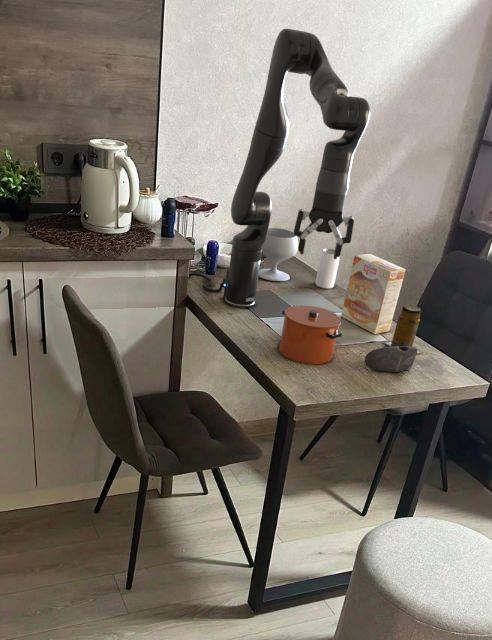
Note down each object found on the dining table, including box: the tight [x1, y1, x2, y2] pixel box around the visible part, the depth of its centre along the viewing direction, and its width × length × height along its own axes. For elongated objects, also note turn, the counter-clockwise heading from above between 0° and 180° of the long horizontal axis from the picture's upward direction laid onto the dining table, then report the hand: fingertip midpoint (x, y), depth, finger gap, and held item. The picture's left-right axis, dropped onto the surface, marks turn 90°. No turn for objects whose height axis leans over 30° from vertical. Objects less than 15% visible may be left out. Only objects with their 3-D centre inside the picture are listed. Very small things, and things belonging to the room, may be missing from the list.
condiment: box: [384, 304, 422, 354], centre depth 209 cm, size 7×8×12 cm
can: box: [314, 248, 341, 290], centre depth 248 cm, size 6×6×12 cm
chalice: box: [258, 227, 299, 282], centre depth 249 cm, size 14×14×15 cm
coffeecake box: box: [340, 253, 406, 335], centre depth 220 cm, size 15×7×20 cm, turn 36°
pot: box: [278, 304, 343, 365], centre depth 198 cm, size 19×15×12 cm
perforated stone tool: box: [364, 346, 418, 373], centre depth 195 cm, size 15×5×7 cm, turn 98°
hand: (318, 256), depth 183 cm, fingers open, 8 cm apart
